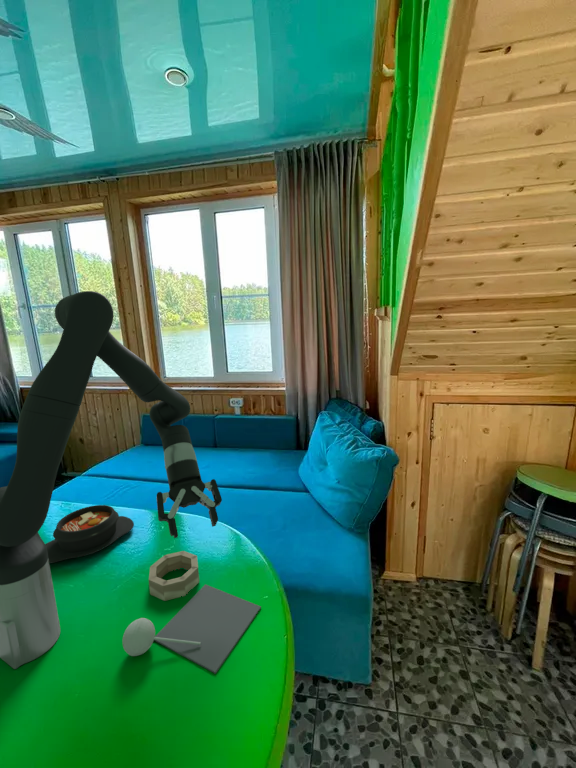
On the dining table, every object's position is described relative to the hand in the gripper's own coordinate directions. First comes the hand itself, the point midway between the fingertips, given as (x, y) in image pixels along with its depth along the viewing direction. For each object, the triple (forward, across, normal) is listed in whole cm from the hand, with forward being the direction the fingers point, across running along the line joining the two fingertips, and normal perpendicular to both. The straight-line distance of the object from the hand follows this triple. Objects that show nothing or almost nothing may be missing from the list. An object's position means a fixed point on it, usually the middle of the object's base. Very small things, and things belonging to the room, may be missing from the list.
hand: (195, 530), depth 74 cm
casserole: (-15, -24, +41) cm, 50 cm away
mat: (+18, 0, +8) cm, 19 cm away
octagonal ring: (+6, -4, +19) cm, 21 cm away
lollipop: (+20, -3, +4) cm, 21 cm away
